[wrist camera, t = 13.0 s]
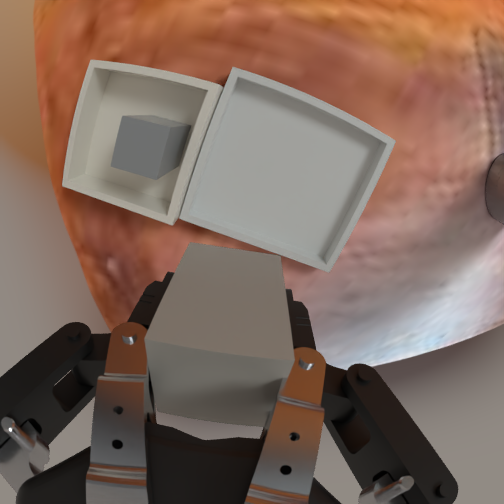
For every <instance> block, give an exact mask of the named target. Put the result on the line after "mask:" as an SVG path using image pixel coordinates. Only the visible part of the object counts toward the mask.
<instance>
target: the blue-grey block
mask: <svg viewBox="0 0 504 504" xmlns="http://www.w3.org/2000/svg"><path fill="white" fill-rule="evenodd" d="M190 128H191V125H189V124H185V123H182V122H178V121H174V120H170V119H166V118H162V117H158V116H154V115H126V116H122V119H121V122H120V126H119V130H118V134H117V139H116V143H115V147H114V152H113V157H112V162H111V167H114V168H117V169H121V170H124V171H127V172H131V173H134V174H138V175H141V176H144V177H148V178H151V179H154V180H157V179H159V178H160V177H162V176H164V175H165V174H167V173H169V172H170V171H172V170H173V169H175V168H177V167H178V166H179V164H180V161H181V157H182V154H183V150H184V147H185V144H186V141H187V137H188V134H189V131H190Z"/></svg>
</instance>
